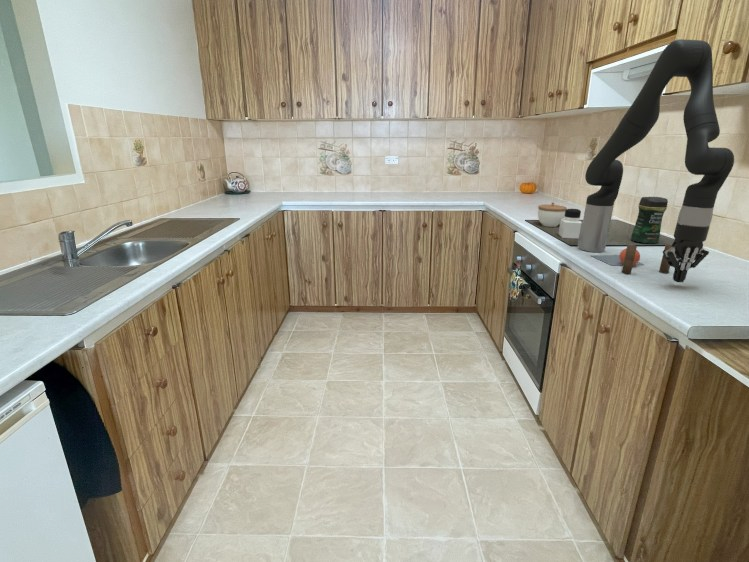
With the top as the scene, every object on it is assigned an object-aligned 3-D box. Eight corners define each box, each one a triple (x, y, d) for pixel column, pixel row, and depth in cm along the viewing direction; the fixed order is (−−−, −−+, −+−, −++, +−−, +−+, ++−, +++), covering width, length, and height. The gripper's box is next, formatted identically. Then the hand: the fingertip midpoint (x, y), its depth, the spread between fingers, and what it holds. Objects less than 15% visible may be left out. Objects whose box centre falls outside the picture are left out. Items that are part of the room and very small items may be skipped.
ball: (624, 268, 141) (613, 261, 147) (641, 267, 142) (629, 261, 148) (629, 251, 139) (617, 245, 144) (646, 251, 140) (634, 245, 145)
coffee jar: (638, 244, 173) (648, 198, 167) (627, 239, 180) (636, 195, 174) (662, 244, 173) (673, 198, 167) (650, 239, 180) (660, 195, 174)
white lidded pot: (530, 223, 212) (533, 200, 208) (553, 222, 214) (557, 200, 210) (544, 228, 200) (548, 204, 196) (569, 227, 202) (573, 204, 198)
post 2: (657, 270, 138) (663, 244, 135) (664, 270, 139) (671, 243, 136) (663, 273, 136) (669, 246, 133) (670, 273, 136) (677, 245, 133)
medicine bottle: (579, 239, 180) (584, 210, 176) (562, 238, 181) (566, 210, 177) (575, 235, 187) (579, 208, 183) (558, 234, 188) (562, 207, 184)
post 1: (619, 271, 137) (625, 244, 134) (627, 271, 137) (633, 244, 134) (625, 274, 134) (631, 246, 131) (632, 274, 135) (638, 246, 132)
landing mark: (590, 255, 155) (590, 255, 155) (621, 255, 156) (621, 254, 156) (611, 265, 143) (611, 265, 143) (644, 264, 145) (644, 264, 145)
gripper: (703, 219, 122) (688, 276, 128) (661, 220, 121) (647, 277, 127) (726, 225, 115) (709, 285, 121) (682, 225, 114) (667, 286, 120)
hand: (678, 281), depth 124 cm, fingers closed
